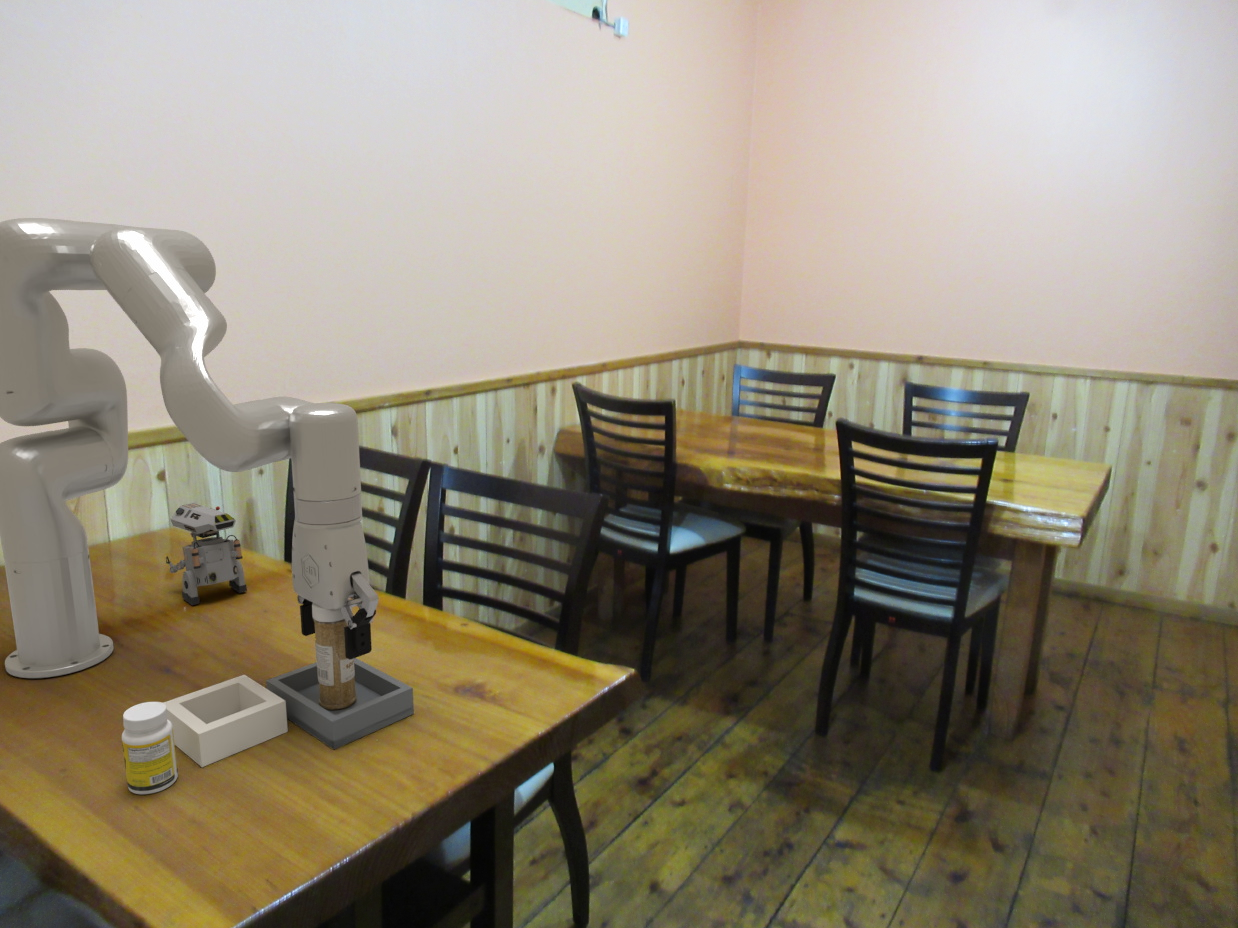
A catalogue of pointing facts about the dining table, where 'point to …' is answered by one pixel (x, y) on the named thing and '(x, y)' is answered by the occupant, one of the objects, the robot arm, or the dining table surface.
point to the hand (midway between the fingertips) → (336, 643)
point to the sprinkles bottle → (333, 659)
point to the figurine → (207, 551)
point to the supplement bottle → (148, 748)
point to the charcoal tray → (370, 712)
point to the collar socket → (225, 719)
